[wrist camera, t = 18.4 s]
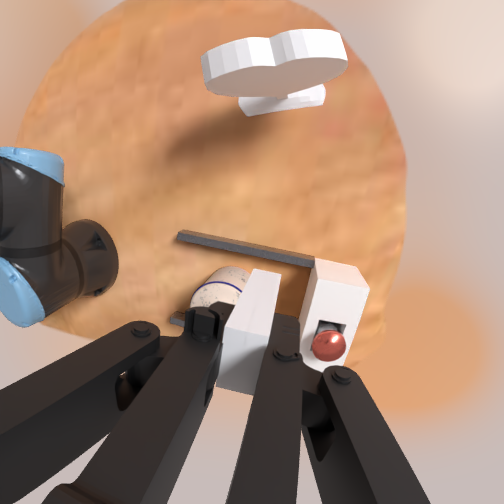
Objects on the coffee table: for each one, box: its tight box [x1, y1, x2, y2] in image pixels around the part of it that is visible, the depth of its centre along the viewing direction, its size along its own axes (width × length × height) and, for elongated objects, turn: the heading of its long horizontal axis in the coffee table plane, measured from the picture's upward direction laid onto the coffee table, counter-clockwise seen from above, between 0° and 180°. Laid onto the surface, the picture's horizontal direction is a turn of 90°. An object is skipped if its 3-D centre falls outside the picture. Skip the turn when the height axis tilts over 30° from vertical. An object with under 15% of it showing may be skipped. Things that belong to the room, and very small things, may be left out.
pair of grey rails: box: [170, 230, 315, 327], centre depth 48 cm, size 22×16×2 cm
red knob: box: [312, 320, 346, 362], centre depth 39 cm, size 4×4×7 cm
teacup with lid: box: [190, 266, 251, 308], centre depth 43 cm, size 12×9×12 cm
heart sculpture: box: [201, 29, 348, 117], centre depth 32 cm, size 16×5×18 cm, turn 100°
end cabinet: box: [298, 258, 370, 372], centre depth 43 cm, size 7×16×10 cm, turn 170°
